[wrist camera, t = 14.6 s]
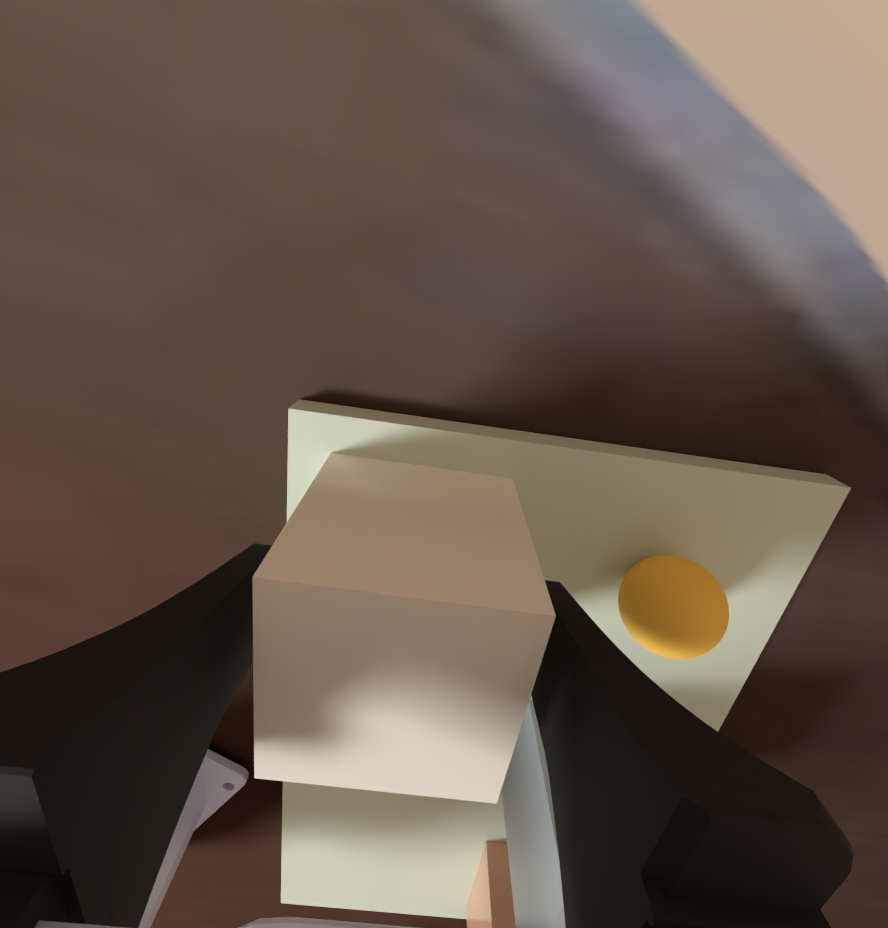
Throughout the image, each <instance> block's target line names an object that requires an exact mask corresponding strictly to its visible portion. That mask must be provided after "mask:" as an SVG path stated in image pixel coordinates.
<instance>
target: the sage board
mask: <svg viewBox="0 0 888 928" xmlns="http://www.w3.org/2000/svg"><path fill="white" fill-rule="evenodd" d="M330 453H338V454H345V455H352V456H359V457H366V458H373V459H380V460H387V461H394V462H401V463H407V464H414V465H421V466H428V467H435V468H442V469H449V470H456V471H463V472H470V473H477V474H484V475H491V476H498V477H504V478H511V479H513V481H514V484H515V487H516V490H517V494H518V497H519V500H520V503H521V506H522V510H523V513H524V516H525V519H526V522H527V526H528V529H529V532H530V535H531V538H532V542H533V545H534V548H535V551H536V554H537V557H538V561H539V564H540V567H541V570H542V573H543V577H544V580H548V581H556V582H560V583H561V584H562V585H563V586H564V587H565V589H566V590H567V591H568V592H569V593H570V594H571V595H572V597H573V598H574V599H575V600H576V601H577V603H578V604H579V605H580V606H581V607H582V608H583V610H584V611H585V612H586V613H587V614H588V615H589V617H590V618H591V619H592V620H593V621H594V622H595V623H596V624H597V626H598V627H599V628H600V629H601V630H602V631H603V632H604V633H605V634H606V636H607V637H608V638H609V639H610V640H611V641H612V642H613V643H614V644H615V645H616V646H617V647H618V648H619V649H620V650H621V651H622V652H623V653H624V654H625V655H626V656H627V657H628V658H629V659H630V660H631V661H632V662H633V663H634V664H635V665H636V666H637V667H638V668H639V669H640V670H641V671H642V672H643V673H644V674H646V675H647V676H648V677H649V678H650V679H651V680H652V681H654V682H655V683H656V684H657V685H658V686H659V687H660V688H662V689H663V690H664V691H665V692H666V693H667V694H669V695H670V696H671V697H672V698H674V699H675V700H676V701H677V702H678V703H680V704H681V705H682V706H684V707H685V708H686V709H688V710H689V711H690V712H691V713H693V714H694V715H695V716H697V717H698V718H699V719H701V720H702V721H703V722H705V723H706V724H707V725H709V726H710V727H712V728H713V729H714V730H716V731H717V732H718V731H719V729H720V727H721V725H722V724H723V722H724V720H725V718H726V716H727V714H728V713H729V711H730V709H731V707H732V705H733V703H734V702H735V700H736V698H737V696H738V694H739V692H740V691H741V689H742V687H743V685H744V683H745V681H746V680H747V678H748V676H749V674H750V672H751V670H752V669H753V667H754V665H755V663H756V661H757V659H758V658H759V656H760V654H761V652H762V650H763V648H764V647H765V645H766V643H767V641H768V639H769V637H770V636H771V634H772V632H773V630H774V628H775V627H776V625H777V623H778V621H779V619H780V617H781V616H782V614H783V612H784V610H785V608H786V606H787V605H788V603H789V601H790V599H791V597H792V595H793V594H794V592H795V590H796V588H797V586H798V584H799V583H800V581H801V579H802V577H803V575H804V573H805V572H806V570H807V568H808V566H809V564H810V562H811V561H812V559H813V557H814V555H815V553H816V551H817V550H818V548H819V546H820V544H821V542H822V540H823V539H824V537H825V535H826V533H827V531H828V530H829V528H830V526H831V524H832V522H833V520H834V519H835V517H836V515H837V513H838V511H839V509H840V508H841V506H842V504H843V502H844V500H845V498H846V497H847V495H848V493H849V491H850V489H851V488H850V487H849V486H847V485H845V484H843V483H841V482H839V481H838V480H836V479H834V478H832V477H830V476H828V475H826V474H820V473H813V472H806V471H799V470H792V469H785V468H778V467H771V466H764V465H757V464H750V463H743V462H736V461H729V460H722V459H714V458H707V457H700V456H693V455H686V454H679V453H672V452H665V451H658V450H651V449H644V448H637V447H630V446H623V445H616V444H609V443H602V442H595V441H588V440H581V439H574V438H567V437H560V436H553V435H546V434H539V433H532V432H525V431H518V430H511V429H504V428H497V427H490V426H483V425H476V424H469V423H462V422H455V421H448V420H441V419H434V418H427V417H420V416H412V415H405V414H398V413H391V412H384V411H377V410H370V409H363V408H356V407H349V406H342V405H335V404H328V403H321V402H314V401H307V400H300V399H299V400H298V401H297V402H295V403H294V404H293V405H292V406H291V407H290V408H289V415H288V479H287V521H288V520H289V518H290V517H291V515H292V514H293V512H294V510H295V509H296V507H297V506H298V504H299V502H300V501H301V499H302V498H303V496H304V495H305V493H306V491H307V490H308V488H309V487H310V485H311V483H312V482H313V480H314V479H315V477H316V475H317V474H318V472H319V471H320V469H321V468H322V466H323V464H324V463H325V461H326V460H327V458H328V456H329V455H330ZM658 555H674V556H679V557H683V558H687V559H689V560H692V561H694V562H696V563H698V564H699V565H701V566H702V567H704V568H705V569H706V570H708V571H709V572H710V573H711V574H712V575H713V576H714V577H715V578H716V579H717V581H718V582H719V584H720V585H721V587H722V589H723V591H724V593H725V595H726V598H727V601H728V606H729V621H728V627H727V630H726V632H725V634H724V636H723V638H722V639H721V641H720V642H719V643H718V644H717V645H716V646H715V647H714V648H713V649H712V650H710V651H709V652H707V653H705V654H703V655H701V656H698V657H695V658H690V659H671V658H666V657H663V656H660V655H657V654H655V653H653V652H651V651H649V650H647V649H646V648H644V647H643V646H642V645H640V644H639V643H638V642H637V641H636V640H635V639H634V638H633V637H632V636H631V634H630V633H629V632H628V630H627V629H626V627H625V625H624V623H623V621H622V619H621V616H620V613H619V607H618V593H619V589H620V585H621V582H622V581H623V579H624V577H625V575H626V574H627V572H628V571H629V570H630V569H631V568H632V567H633V566H635V565H636V564H637V563H639V562H641V561H642V560H645V559H647V558H650V557H653V556H658ZM530 700H531V701H533V700H532V696H530ZM520 729H521V728H520ZM519 732H520V731H519ZM517 739H518V738H517ZM516 742H517V741H516ZM515 746H516V744H515ZM514 749H515V747H514ZM513 752H514V750H513ZM512 756H513V754H512ZM511 759H512V757H511ZM510 762H511V760H510ZM509 766H510V763H509ZM509 766H508V769H509ZM508 769H507V773H508ZM507 773H506V776H507ZM506 776H505V779H506ZM505 779H504V782H503V785H502V788H501V792H500V795H499V798H498V801H497V804H495V803H485V802H476V801H466V800H457V799H447V798H438V797H428V796H419V795H409V794H400V793H390V792H381V791H371V790H362V789H352V788H343V787H333V786H324V785H314V784H304V783H295V782H285V781H283V799H282V864H281V903H286V904H298V905H309V906H321V907H332V908H344V909H356V910H367V911H379V912H390V913H402V914H413V915H425V916H437V917H448V918H460V919H467V908H466V905H467V902H468V899H469V895H470V892H471V889H472V886H473V882H474V879H475V876H476V872H477V869H478V866H479V862H480V859H481V856H482V853H483V849H484V846H485V843H486V841H496V842H507V838H506V828H505V819H504V809H503V799H502V789H503V786H504V783H505Z"/></svg>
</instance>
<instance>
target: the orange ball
mask: <svg viewBox="0 0 888 928" xmlns="http://www.w3.org/2000/svg"><path fill="white" fill-rule="evenodd" d="M618 607H619V613H620V616H621V619H622V621H623V623H624V625H625V627H626V629H627V630H628V632H629V633H630V634H631V636H632V637H633V638H634V639H635V640H636V641H637V642H638V643H639V644H640V645H642V646H643V647H644V648H646V649H647V650H649V651H651V652H653V653H655V654H657V655H660V656H663V657H666V658H671V659H690V658H695V657H698V656H701V655H703V654H705V653H707V652H709V651H710V650H712V649H713V648H714V647H715V646H716V645H717V644H718V643H719V642H720V641H721V639H722V638H723V636H724V634H725V632H726V630H727V627H728V621H729V606H728V601H727V598H726V595H725V593H724V591H723V589H722V587H721V585H720V584H719V582H718V581H717V579H716V578H715V577H714V576H713V575H712V574H711V573H710V572H709V571H708V570H706V569H705V568H704V567H702V566H701V565H699V564H698V563H696V562H694V561H692V560H689V559H687V558H683V557H679V556H674V555H658V556H653V557H650V558H647V559H645V560H642V561H641V562H639V563H637V564H636V565H635V566H633V567H632V568H631V569H630V570H629V571H628V572H627V574H626V575H625V577H624V579H623V581H622V582H621V585H620V589H619V593H618Z"/></svg>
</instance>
